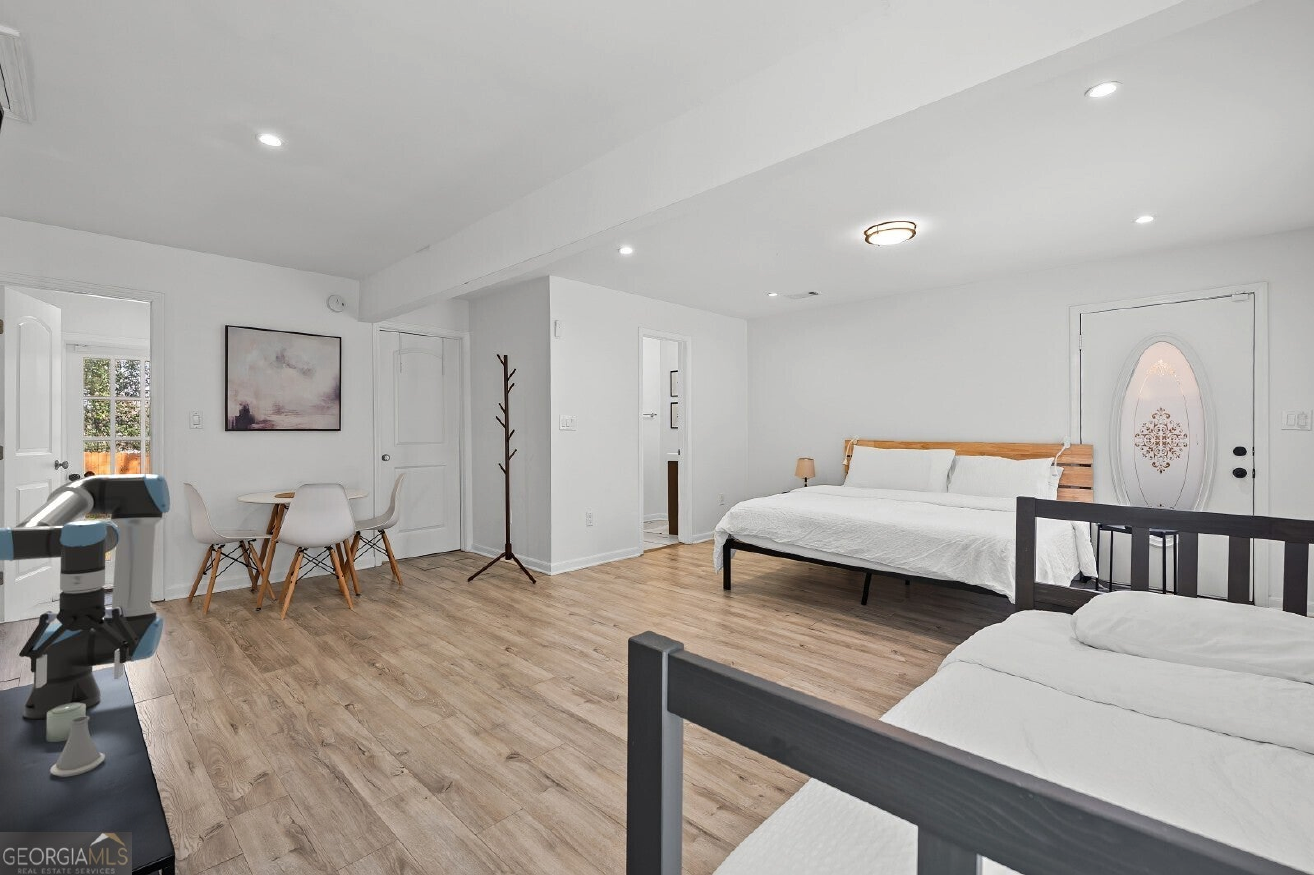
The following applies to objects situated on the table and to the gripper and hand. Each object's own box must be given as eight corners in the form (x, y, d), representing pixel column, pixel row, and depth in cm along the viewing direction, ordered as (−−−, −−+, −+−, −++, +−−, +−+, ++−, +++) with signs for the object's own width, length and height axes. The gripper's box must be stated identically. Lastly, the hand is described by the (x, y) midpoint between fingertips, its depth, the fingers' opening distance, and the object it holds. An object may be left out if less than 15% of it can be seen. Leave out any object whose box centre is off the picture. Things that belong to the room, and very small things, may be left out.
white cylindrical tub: (54, 731, 153) (55, 703, 153) (90, 726, 156) (90, 699, 156) (40, 744, 147) (41, 715, 147) (77, 739, 150) (78, 710, 150)
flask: (72, 773, 133) (74, 728, 133) (47, 768, 135) (48, 724, 135) (108, 756, 140) (109, 713, 140) (83, 752, 142) (85, 710, 142)
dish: (61, 761, 140) (62, 756, 140) (111, 754, 143) (111, 749, 143) (41, 782, 132) (41, 777, 132) (94, 774, 135) (95, 768, 135)
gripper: (-1, 598, 129) (-4, 696, 129) (145, 588, 139) (143, 679, 139) (18, 589, 136) (16, 682, 136) (156, 581, 146) (154, 667, 146)
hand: (80, 681), depth 138 cm, fingers open, 13 cm apart
